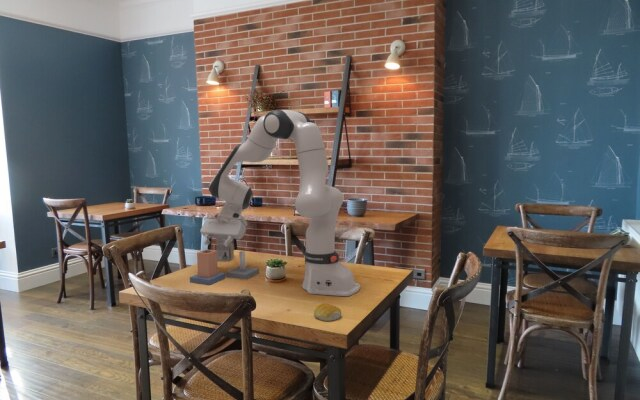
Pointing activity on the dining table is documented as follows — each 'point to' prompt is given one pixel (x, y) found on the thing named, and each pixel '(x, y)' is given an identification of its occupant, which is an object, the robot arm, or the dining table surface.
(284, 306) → the dining table surface
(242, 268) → the stand
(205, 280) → the peg base
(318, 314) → the bread roll
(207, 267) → the sleeve
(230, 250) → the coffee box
